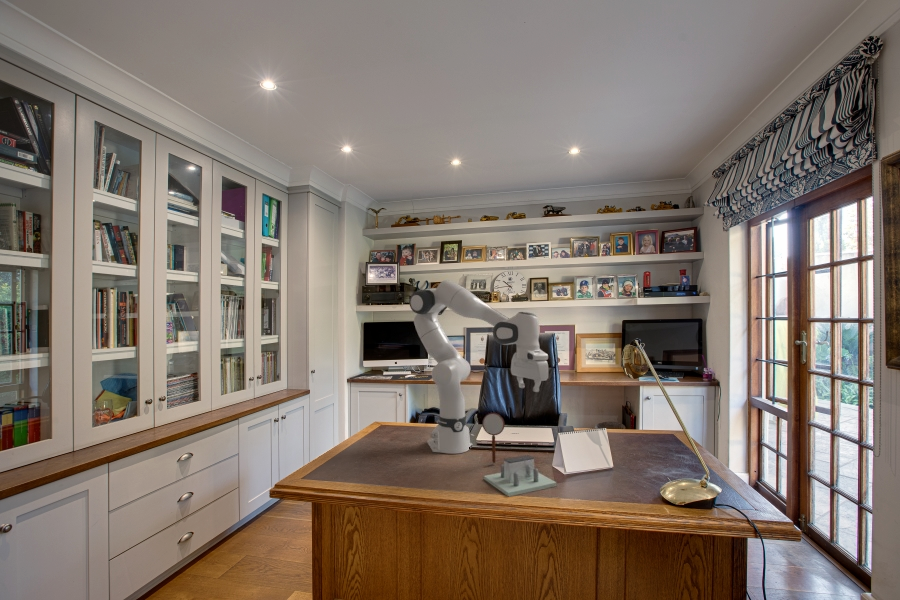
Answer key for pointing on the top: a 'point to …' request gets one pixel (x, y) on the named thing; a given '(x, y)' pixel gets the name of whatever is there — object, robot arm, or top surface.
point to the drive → (519, 468)
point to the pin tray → (519, 483)
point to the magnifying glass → (493, 428)
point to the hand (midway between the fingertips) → (528, 389)
